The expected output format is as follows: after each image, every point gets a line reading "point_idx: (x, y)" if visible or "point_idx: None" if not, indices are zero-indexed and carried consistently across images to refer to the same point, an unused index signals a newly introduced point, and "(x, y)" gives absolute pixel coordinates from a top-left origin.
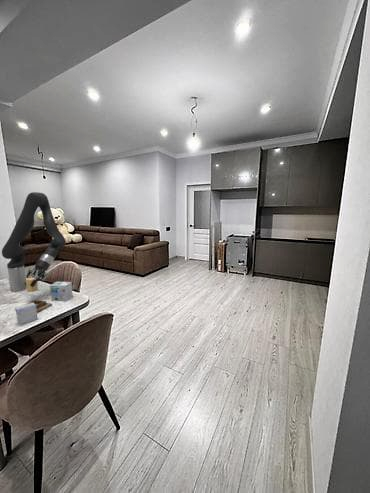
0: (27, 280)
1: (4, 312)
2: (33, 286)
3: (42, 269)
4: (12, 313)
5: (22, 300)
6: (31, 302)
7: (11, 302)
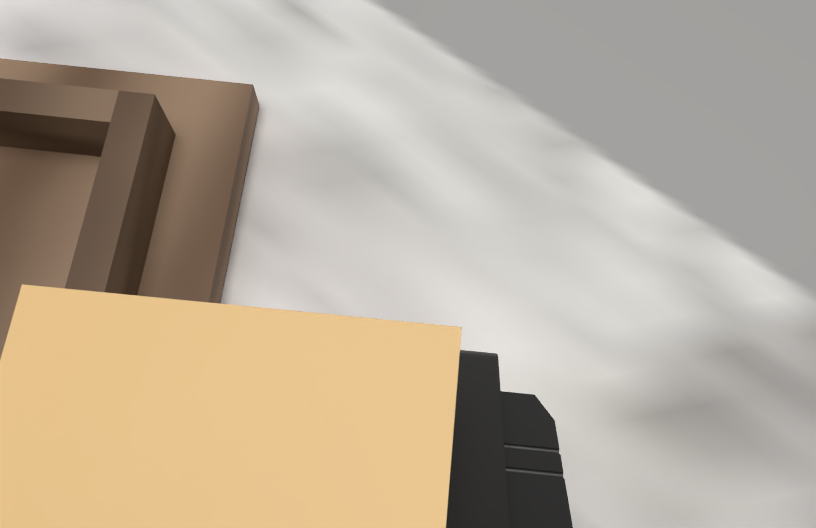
0: (287, 320)
1: (463, 62)
2: None
3: None
4: (297, 59)
5: (637, 520)
6: (80, 236)
7: (765, 387)
